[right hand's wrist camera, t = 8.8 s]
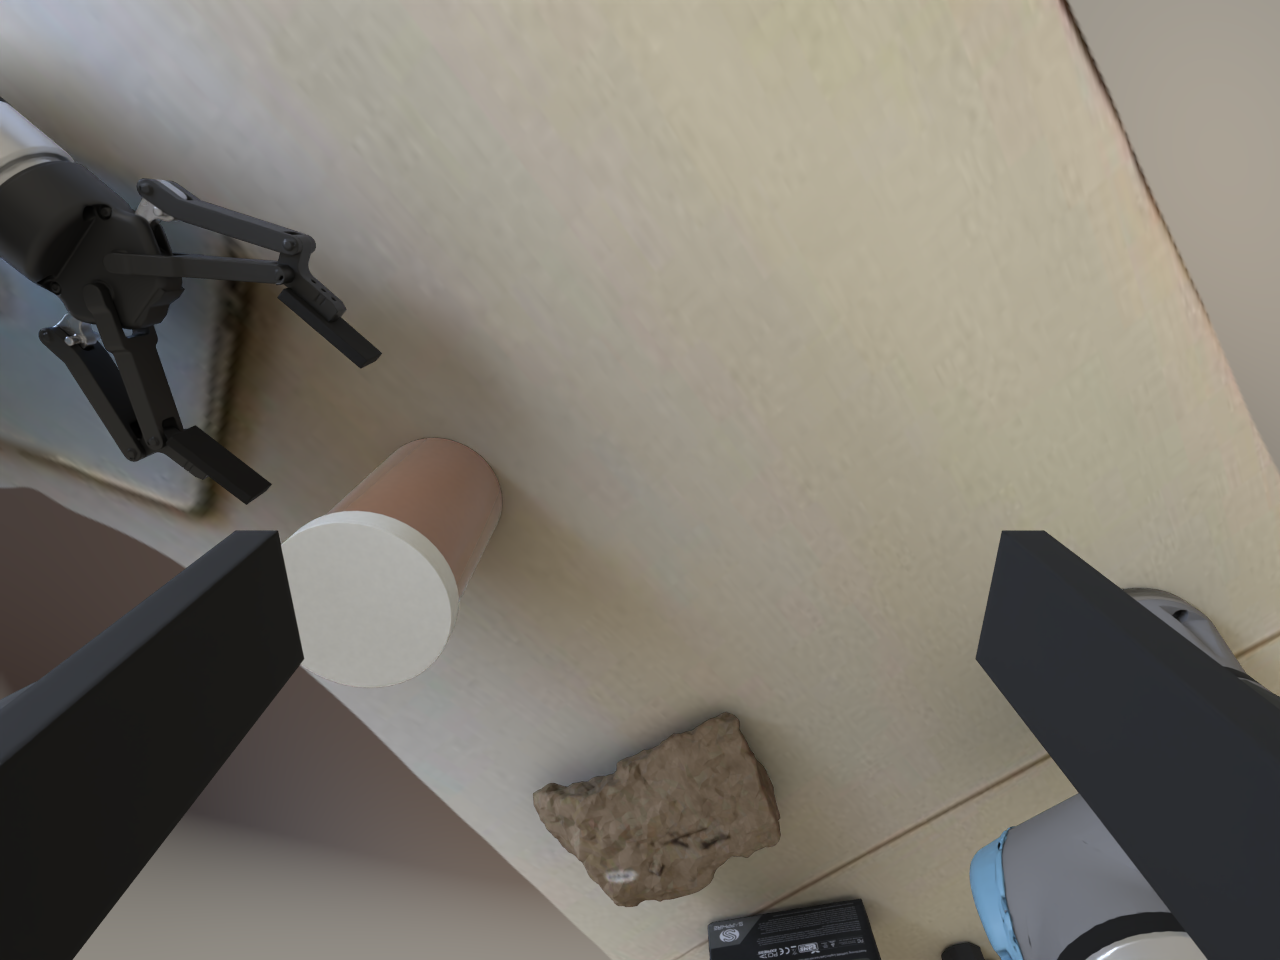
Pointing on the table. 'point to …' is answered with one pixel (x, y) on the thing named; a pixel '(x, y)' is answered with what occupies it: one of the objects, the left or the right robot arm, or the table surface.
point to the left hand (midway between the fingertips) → (314, 430)
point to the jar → (436, 499)
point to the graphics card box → (797, 935)
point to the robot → (963, 952)
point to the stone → (667, 814)
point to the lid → (369, 598)
